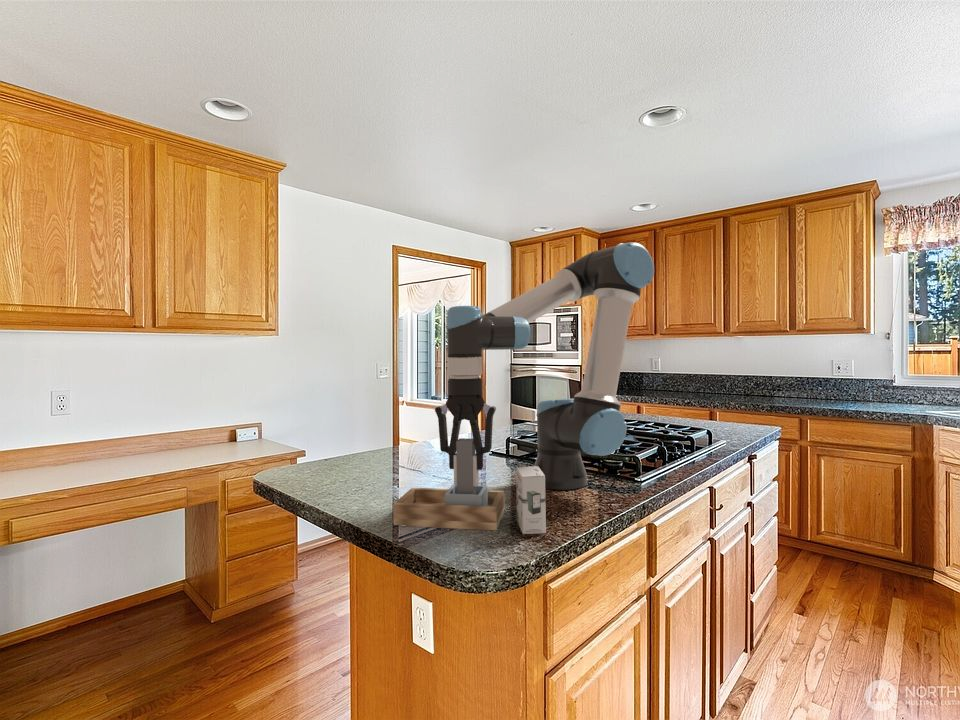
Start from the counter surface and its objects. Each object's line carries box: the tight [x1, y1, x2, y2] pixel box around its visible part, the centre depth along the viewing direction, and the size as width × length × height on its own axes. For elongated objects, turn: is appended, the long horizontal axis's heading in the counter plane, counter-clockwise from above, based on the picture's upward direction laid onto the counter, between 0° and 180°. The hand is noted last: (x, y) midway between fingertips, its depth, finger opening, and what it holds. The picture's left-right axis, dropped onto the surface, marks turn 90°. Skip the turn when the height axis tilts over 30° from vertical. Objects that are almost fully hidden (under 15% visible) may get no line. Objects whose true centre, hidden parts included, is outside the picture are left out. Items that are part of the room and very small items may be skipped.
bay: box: [392, 487, 505, 531], centre depth 111 cm, size 22×13×4 cm, turn 80°
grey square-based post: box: [444, 437, 489, 506], centre depth 110 cm, size 8×8×15 cm
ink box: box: [515, 465, 547, 535], centre depth 104 cm, size 9×5×12 cm, turn 5°
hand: (466, 483), depth 110 cm, fingers closed on grey square-based post, 3 cm apart
